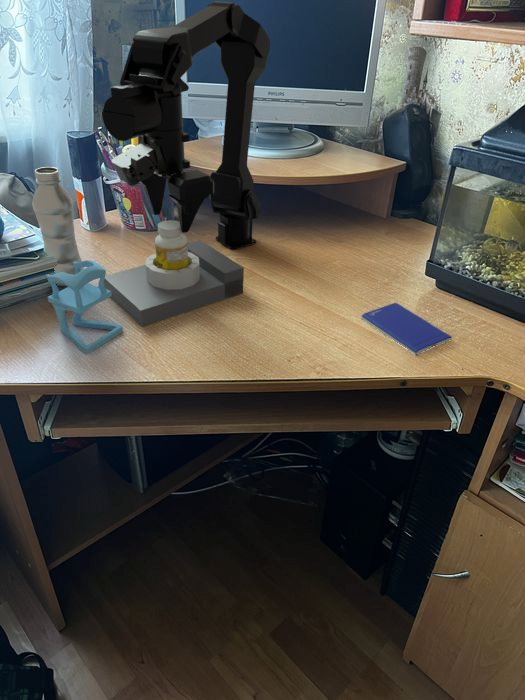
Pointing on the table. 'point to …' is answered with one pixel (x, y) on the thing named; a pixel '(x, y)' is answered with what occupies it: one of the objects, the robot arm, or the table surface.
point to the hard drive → (405, 328)
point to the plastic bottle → (56, 220)
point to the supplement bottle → (171, 246)
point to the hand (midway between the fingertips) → (170, 223)
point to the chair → (81, 301)
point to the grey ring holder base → (176, 285)
